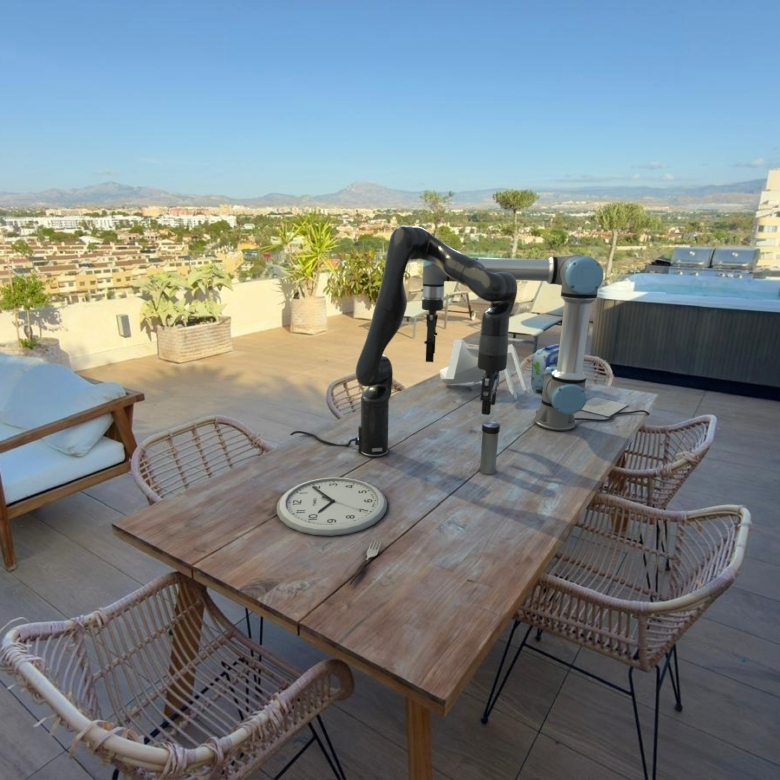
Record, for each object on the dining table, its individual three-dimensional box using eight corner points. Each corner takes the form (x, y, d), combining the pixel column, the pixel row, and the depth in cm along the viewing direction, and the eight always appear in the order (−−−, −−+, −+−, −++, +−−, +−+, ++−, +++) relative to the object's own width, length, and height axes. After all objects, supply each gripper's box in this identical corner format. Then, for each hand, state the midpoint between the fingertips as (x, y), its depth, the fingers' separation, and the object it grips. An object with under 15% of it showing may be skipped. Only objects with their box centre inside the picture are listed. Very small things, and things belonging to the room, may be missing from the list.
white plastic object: (461, 429, 252) (437, 405, 227) (444, 352, 274) (420, 323, 250) (535, 404, 240) (518, 377, 215) (510, 326, 262) (492, 293, 237)
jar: (479, 473, 163) (482, 427, 158) (479, 466, 167) (483, 422, 163) (495, 475, 162) (499, 429, 157) (495, 468, 167) (499, 423, 162)
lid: (481, 433, 159) (482, 426, 158) (482, 426, 164) (482, 420, 163) (499, 434, 158) (500, 428, 157) (499, 428, 163) (500, 421, 162)
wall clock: (392, 527, 129) (268, 531, 127) (391, 533, 130) (269, 537, 127) (383, 473, 158) (282, 475, 155) (383, 478, 158) (282, 480, 156)
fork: (344, 585, 111) (344, 577, 110) (372, 544, 125) (372, 537, 125) (355, 588, 110) (355, 580, 109) (382, 546, 124) (382, 539, 124)
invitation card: (608, 416, 214) (573, 407, 224) (608, 416, 214) (573, 408, 224) (628, 404, 229) (594, 396, 238) (628, 405, 229) (594, 397, 238)
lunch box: (547, 396, 238) (552, 351, 232) (526, 391, 246) (531, 347, 239) (574, 385, 256) (579, 343, 250) (554, 380, 263) (559, 340, 257)
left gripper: (483, 344, 144) (479, 399, 149) (473, 355, 131) (469, 415, 136) (511, 346, 142) (506, 403, 147) (503, 358, 129) (498, 419, 134)
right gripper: (424, 293, 195) (422, 349, 202) (419, 302, 172) (417, 365, 178) (444, 294, 195) (441, 350, 201) (442, 303, 171) (439, 366, 177)
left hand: (488, 409), depth 141 cm, fingers open, 8 cm apart
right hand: (430, 357), depth 190 cm, fingers open, 13 cm apart
